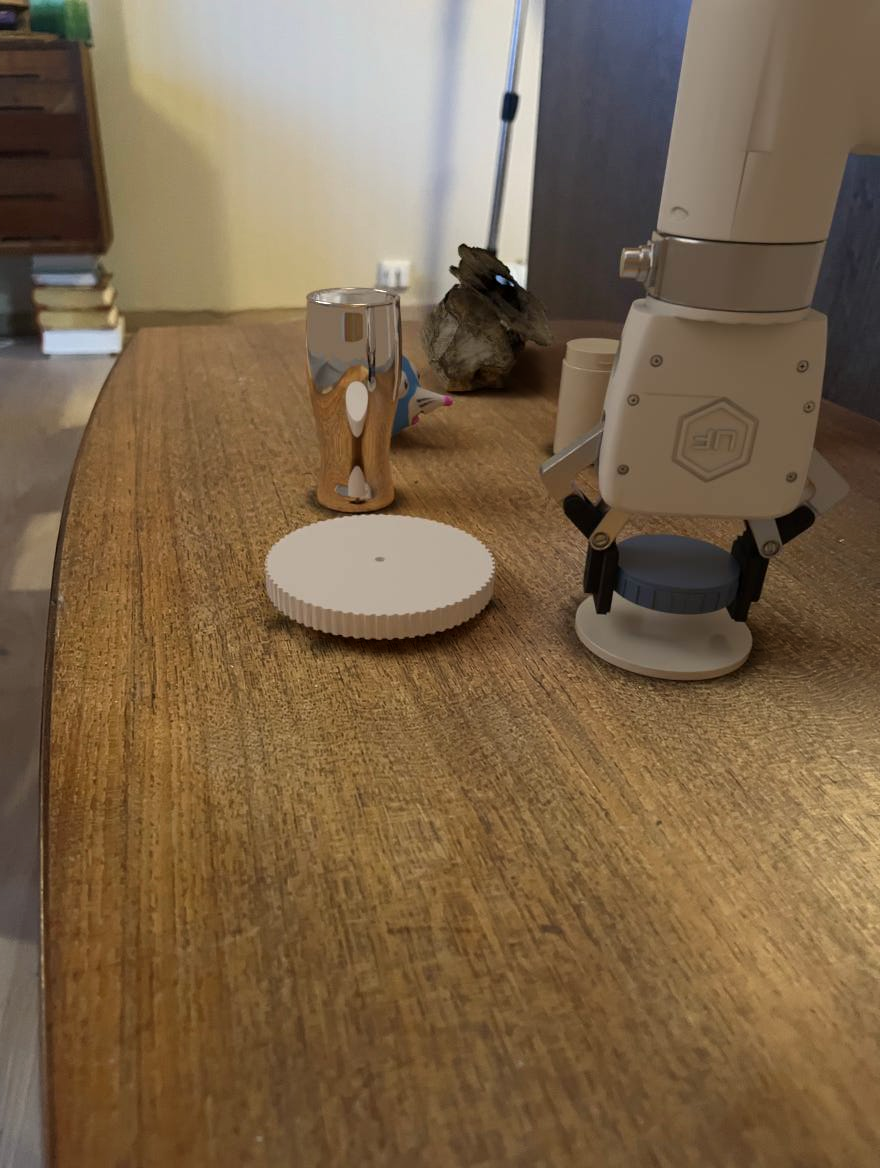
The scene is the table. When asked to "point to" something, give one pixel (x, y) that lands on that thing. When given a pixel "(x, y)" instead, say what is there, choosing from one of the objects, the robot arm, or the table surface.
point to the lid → (676, 574)
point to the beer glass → (354, 392)
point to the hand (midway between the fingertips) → (666, 604)
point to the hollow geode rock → (481, 324)
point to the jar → (583, 388)
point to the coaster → (664, 640)
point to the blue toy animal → (414, 399)
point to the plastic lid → (379, 576)
